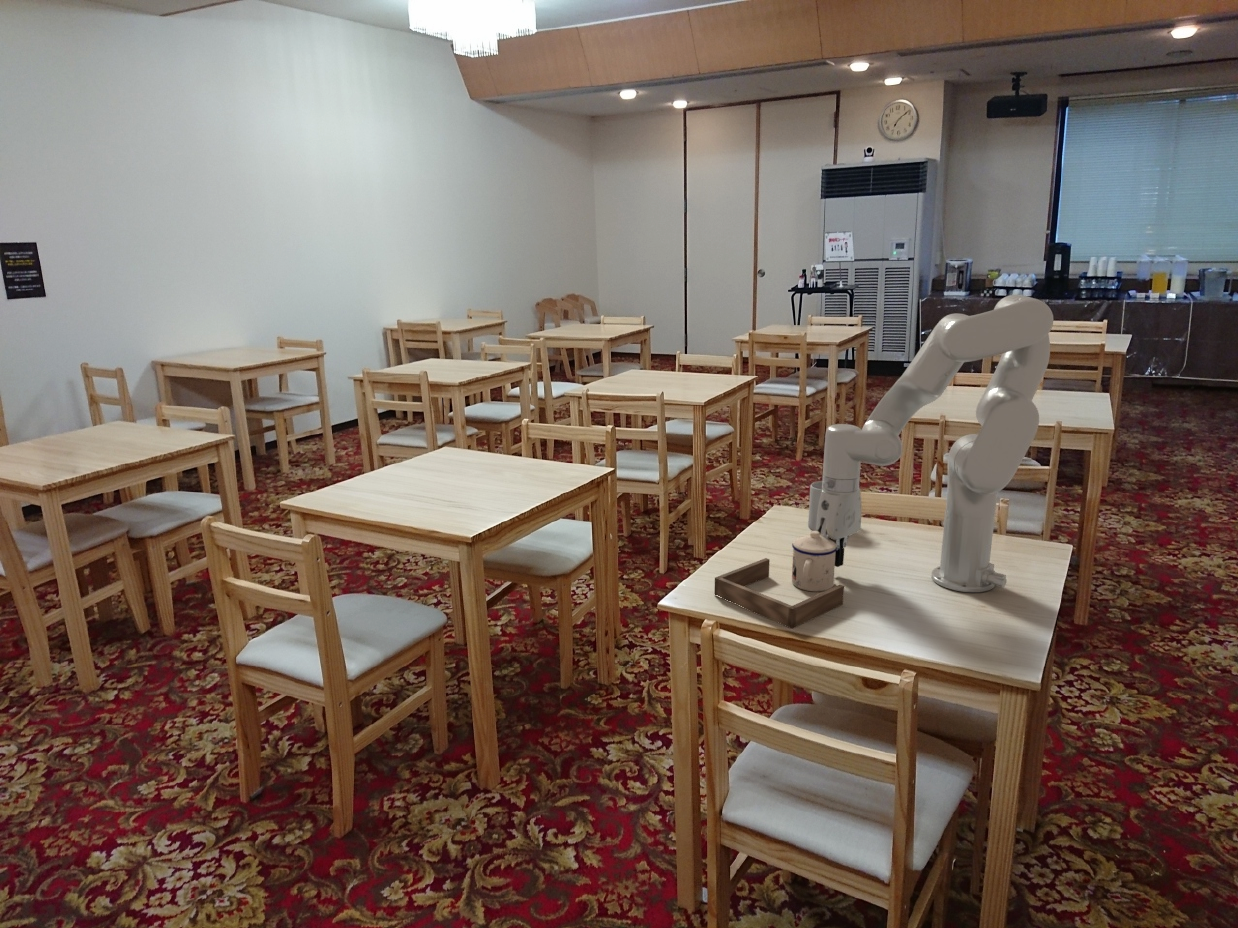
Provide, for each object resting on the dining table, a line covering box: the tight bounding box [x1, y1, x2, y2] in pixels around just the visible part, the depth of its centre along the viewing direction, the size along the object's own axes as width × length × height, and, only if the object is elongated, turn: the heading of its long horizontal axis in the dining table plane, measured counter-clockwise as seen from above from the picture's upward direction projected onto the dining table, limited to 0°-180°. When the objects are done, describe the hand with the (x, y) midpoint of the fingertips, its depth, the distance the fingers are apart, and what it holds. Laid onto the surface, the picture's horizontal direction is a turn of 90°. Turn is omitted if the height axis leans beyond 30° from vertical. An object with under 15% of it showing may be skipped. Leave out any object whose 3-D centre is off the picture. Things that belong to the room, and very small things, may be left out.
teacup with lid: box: [791, 530, 837, 592], centre depth 177 cm, size 12×9×12 cm
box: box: [713, 557, 845, 629], centre depth 172 cm, size 20×16×4 cm
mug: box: [807, 480, 822, 531], centre depth 213 cm, size 12×8×11 cm
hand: (834, 564), depth 184 cm, fingers closed
